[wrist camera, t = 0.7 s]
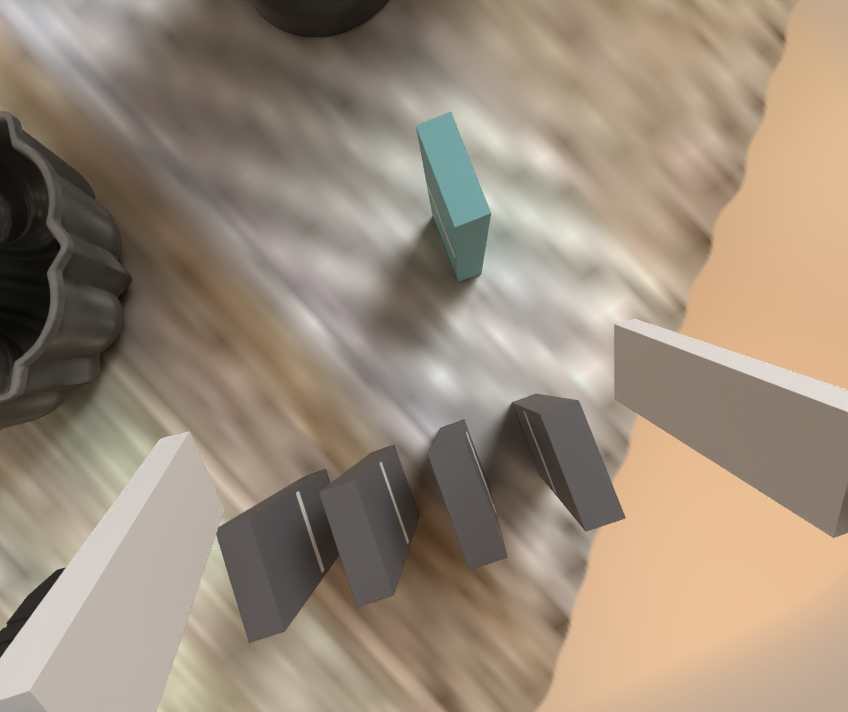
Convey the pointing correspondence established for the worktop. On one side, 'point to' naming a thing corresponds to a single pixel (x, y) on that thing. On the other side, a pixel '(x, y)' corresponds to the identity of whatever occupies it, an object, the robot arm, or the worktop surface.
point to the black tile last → (278, 555)
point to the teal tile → (454, 195)
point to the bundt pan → (51, 278)
